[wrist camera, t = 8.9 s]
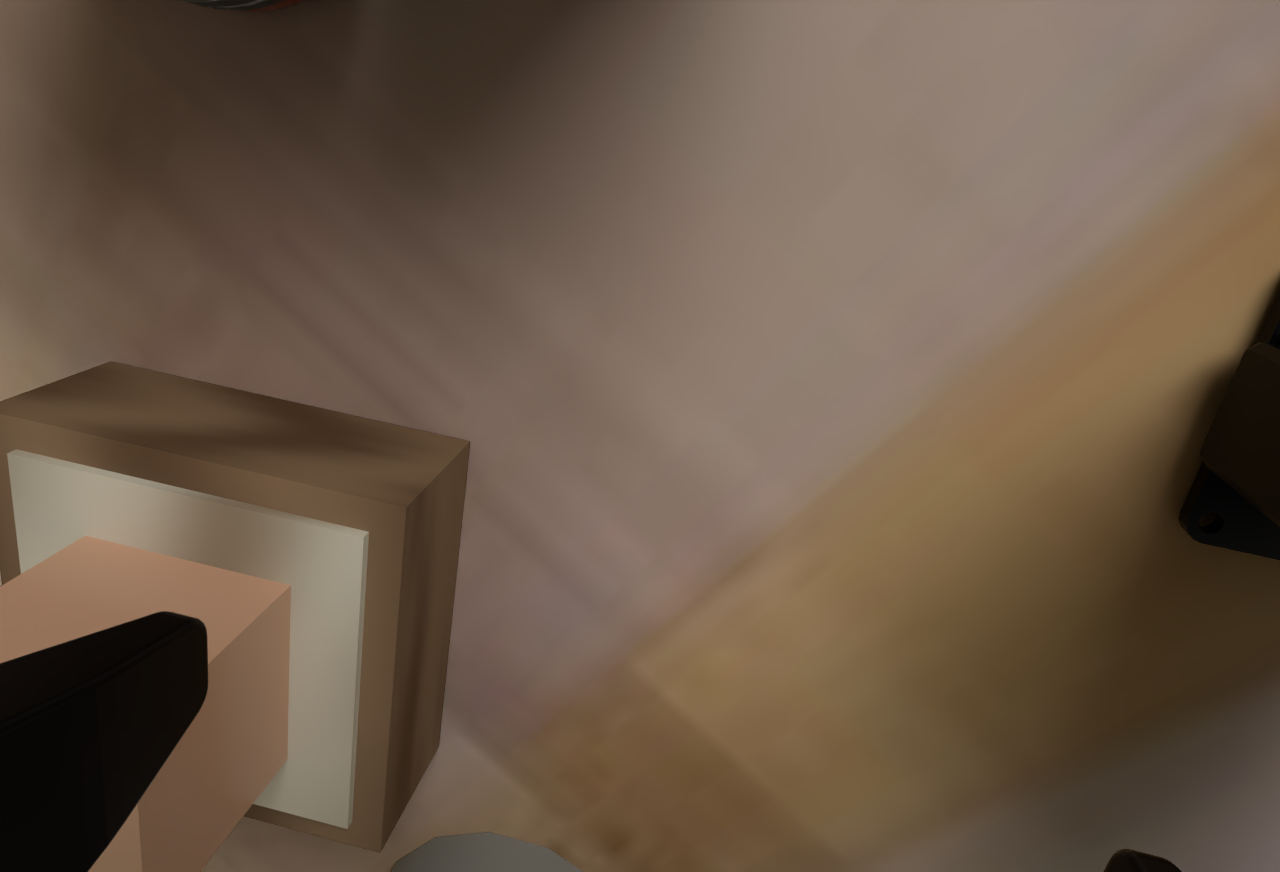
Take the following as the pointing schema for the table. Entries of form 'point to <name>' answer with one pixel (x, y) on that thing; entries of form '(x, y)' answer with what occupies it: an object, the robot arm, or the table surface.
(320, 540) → the pedestal
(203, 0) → the supplement bottle
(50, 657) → the robot arm
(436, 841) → the cup
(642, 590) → the table surface
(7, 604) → the cube
